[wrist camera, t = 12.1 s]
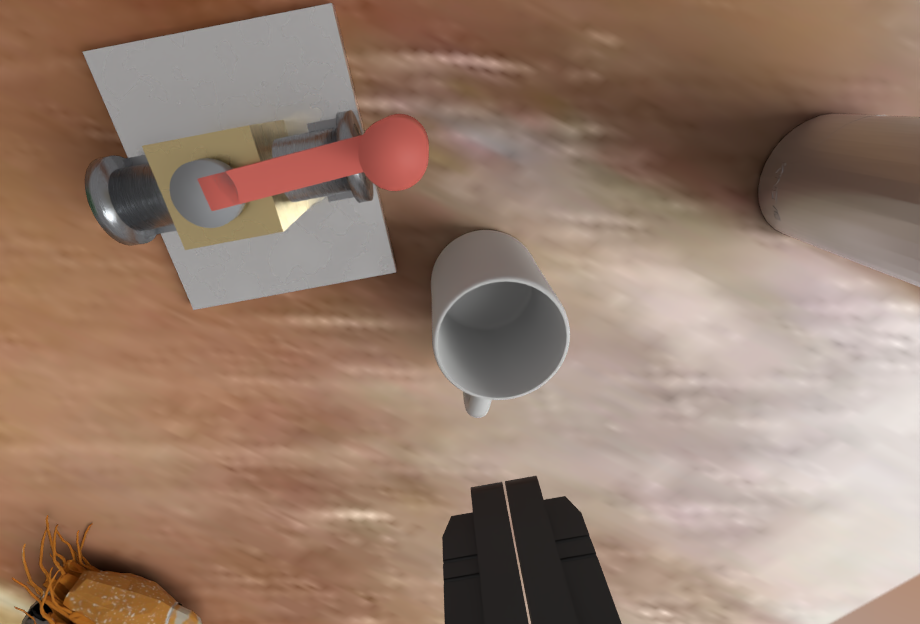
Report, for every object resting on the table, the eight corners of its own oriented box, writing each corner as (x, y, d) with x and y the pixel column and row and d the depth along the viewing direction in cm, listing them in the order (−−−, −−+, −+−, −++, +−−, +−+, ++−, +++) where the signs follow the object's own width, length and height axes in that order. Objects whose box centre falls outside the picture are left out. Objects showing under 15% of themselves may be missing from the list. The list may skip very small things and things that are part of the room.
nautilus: (1, 511, 47) (158, 478, 48) (99, 665, 54) (234, 634, 55) (-75, 582, 40) (112, 541, 40) (50, 748, 47) (207, 713, 47)
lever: (197, 229, 29) (134, 265, 23) (168, 167, 27) (92, 188, 21) (436, 168, 28) (438, 188, 22) (419, 101, 27) (415, 102, 21)
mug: (439, 220, 38) (443, 265, 28) (547, 237, 39) (588, 286, 29) (418, 358, 42) (414, 439, 32) (514, 369, 43) (540, 452, 33)
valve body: (334, 5, 32) (305, -22, 24) (397, 268, 39) (389, 307, 32) (92, 52, 32) (-8, 40, 25) (199, 304, 39) (146, 352, 32)
